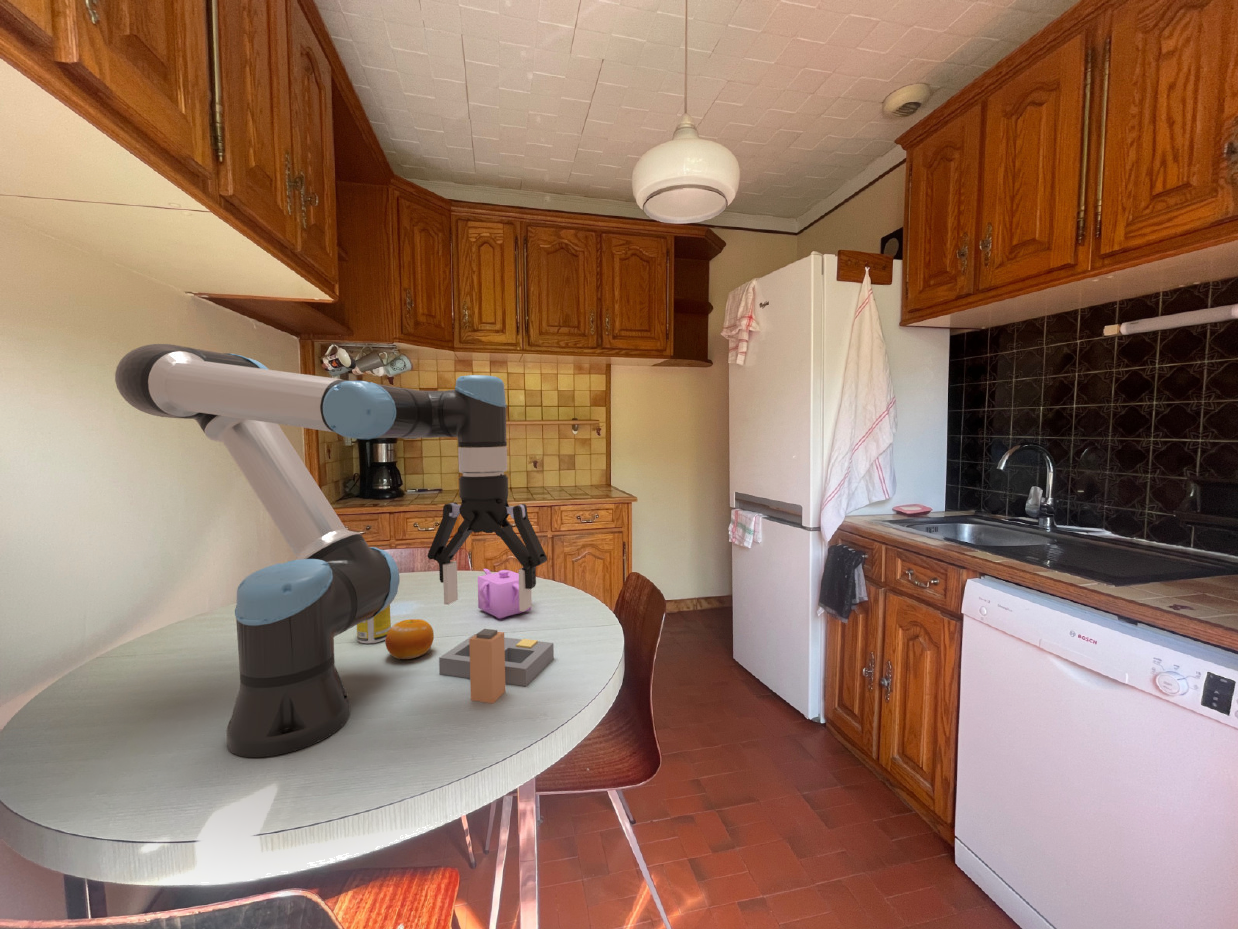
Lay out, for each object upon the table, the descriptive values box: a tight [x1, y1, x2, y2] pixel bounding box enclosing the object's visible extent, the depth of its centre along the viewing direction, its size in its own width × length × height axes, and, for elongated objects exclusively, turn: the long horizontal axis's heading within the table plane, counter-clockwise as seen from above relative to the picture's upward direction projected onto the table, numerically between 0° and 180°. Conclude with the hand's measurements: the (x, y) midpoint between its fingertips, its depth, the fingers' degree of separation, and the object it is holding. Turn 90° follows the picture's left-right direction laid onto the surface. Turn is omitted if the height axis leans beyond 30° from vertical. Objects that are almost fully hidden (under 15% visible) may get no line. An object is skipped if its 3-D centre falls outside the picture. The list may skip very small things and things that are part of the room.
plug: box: [469, 628, 506, 704], centre depth 85 cm, size 4×4×11 cm
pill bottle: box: [356, 604, 392, 644], centre depth 109 cm, size 6×6×12 cm
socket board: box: [438, 633, 555, 687], centre depth 96 cm, size 12×17×3 cm
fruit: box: [384, 618, 435, 660], centre depth 101 cm, size 8×8×8 cm
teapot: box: [477, 568, 532, 619], centre depth 126 cm, size 18×14×10 cm
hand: (487, 605), depth 84 cm, fingers open, 13 cm apart
